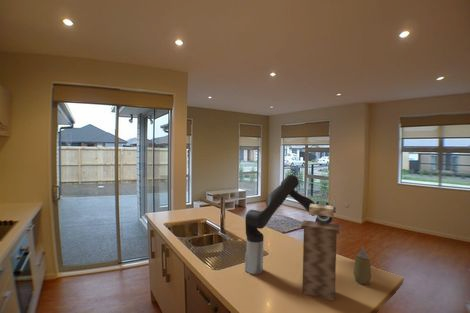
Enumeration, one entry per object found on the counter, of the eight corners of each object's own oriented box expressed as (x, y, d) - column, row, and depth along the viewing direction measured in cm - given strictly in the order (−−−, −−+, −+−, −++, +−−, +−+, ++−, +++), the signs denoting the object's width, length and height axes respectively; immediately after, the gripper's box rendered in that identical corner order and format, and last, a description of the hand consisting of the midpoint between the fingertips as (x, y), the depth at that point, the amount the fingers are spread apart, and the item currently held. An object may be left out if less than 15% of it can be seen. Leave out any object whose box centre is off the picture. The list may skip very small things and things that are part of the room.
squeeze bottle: (355, 276, 129) (356, 242, 128) (372, 281, 123) (373, 246, 123) (351, 282, 122) (352, 247, 122) (369, 288, 117) (370, 251, 117)
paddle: (308, 214, 116) (309, 206, 116) (312, 206, 133) (312, 199, 133) (333, 216, 112) (333, 209, 112) (333, 208, 129) (333, 201, 129)
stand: (299, 293, 111) (301, 225, 111) (302, 283, 120) (303, 220, 119) (337, 302, 105) (339, 230, 105) (337, 291, 114) (338, 224, 113)
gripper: (310, 205, 144) (308, 195, 131) (336, 208, 139) (337, 197, 125) (310, 217, 141) (307, 208, 127) (336, 220, 136) (336, 211, 122)
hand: (322, 203), depth 126 cm, fingers closed on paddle, 3 cm apart
